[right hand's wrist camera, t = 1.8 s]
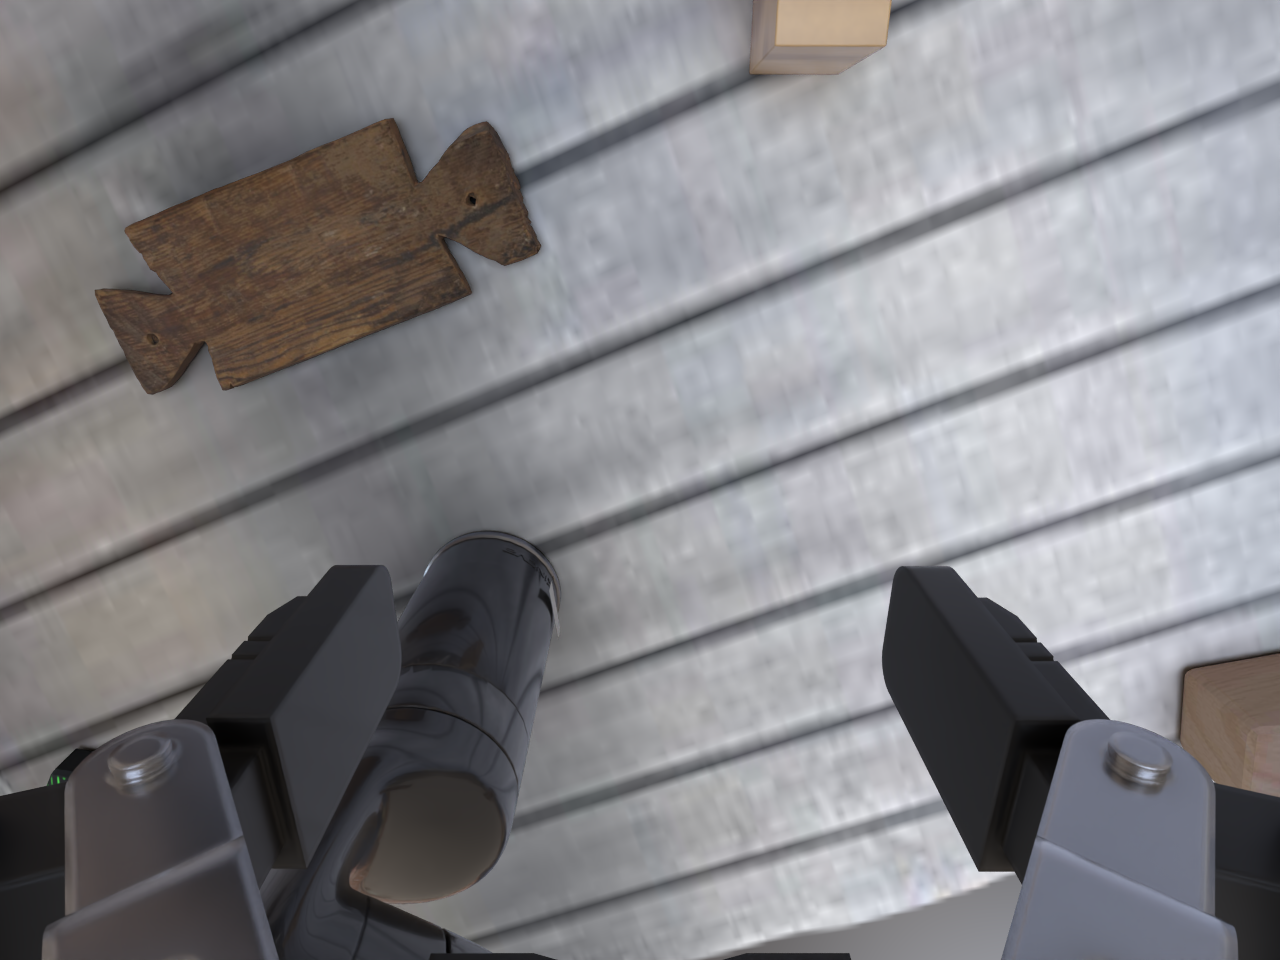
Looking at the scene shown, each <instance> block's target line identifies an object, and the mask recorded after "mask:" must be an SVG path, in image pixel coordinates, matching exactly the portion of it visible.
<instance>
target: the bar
mask: <svg viewBox="0 0 1280 960" xmlns="http://www.w3.org/2000/svg"><path fill="white" fill-rule="evenodd" d="M891 1H892V0H753V15H752V34H751V52H750V71H749V72H750V74H840V73H841V72H843V71H845V70H846V69H848V68H850V67H851V66H853V65H855V64H857V63H858V62H860V61H862V60H863V59H865V58H867V57H868V56H870V55H872V54H873V53H875V52H877V51H878V50H880V49H882V48H884V47H885V46H886V44H887V35H888V27H889V18H890V10H891Z"/></svg>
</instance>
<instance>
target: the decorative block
mask: <svg viewBox="0 0 1280 960" xmlns="http://www.w3.org/2000/svg"><path fill="white" fill-rule="evenodd" d="M1180 741H1181V744H1182V747H1183V748H1184V750H1185V751H1187V752H1188V753H1189V754H1190V755H1192V756H1193V757H1194V758H1195V759H1196V760H1197V761H1198V762H1199V763H1200V764H1201V765H1202V766H1203V767H1204V768H1205V769H1206V771H1207V772H1208V774H1209V775H1210V776H1211V778H1212V779H1213V780H1214V781H1215V783H1218V784H1222V785H1226V786H1231V787H1235V788H1240V789H1244V790H1249V791H1253V792H1258V793H1263V794H1267V795H1272V796H1276V797H1280V653H1279V654H1274V655H1268V656H1262V657H1257V658H1251V659H1245V660H1239V661H1234V662H1228V663H1222V664H1217V665H1211V666H1205V667H1200V668H1194V669H1191V670H1189V671H1187V673H1186V674H1185V679H1184V693H1183V707H1182V722H1181V736H1180Z"/></svg>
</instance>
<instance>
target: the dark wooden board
mask: <svg viewBox="0 0 1280 960" xmlns="http://www.w3.org/2000/svg"><path fill="white" fill-rule="evenodd" d="M520 188H521V187H520V184H519V181H518V178H517V177H516V175H515V174H514V170H513V168H512V166H511V162H510V158H509V154H508V153H507V151H506V150H505V148H504V146H503V144H502V142H501V140H500V138H499V136H498V134H497V132H496V131H495V129H494V128H493V127H492V126H491V125H490V124H489V123H488V122H487V121H486V122H482V123H478V124H475V125H473V126H471V127H469V128H467V129H466V130H465V131H464V132H463V133H462V134H461V135H460V136H459V137H458V138H457V139H456V140H455V141H454V143H453V144H452V145H451V146H450V147H449V148H448V149H447V150H446V151H445V153H444V154H443V156H442V157H441V159H440V161H439V162H438V163H437V164H436V165H435V166H434V167H433V168H432V169H431V171H430V172H429V173H428V175H427V176H426V178H425V179H424V180H423V182H420V183H418V181H417V178H416V176H415V173H414V170H413V167H412V163H411V160H410V158H409V155H408V153H407V150H406V148H405V145H404V143H403V140H402V138H401V135H400V132H399V130H398V127H397V124H396V122H395V120H394V118H391V119H384V120H382V121H379V122H377V123H374V124H372V125H370V126H368V127H365V128H363V129H361V130H359V131H356V132H354V133H352V134H350V135H347V136H345V137H343V138H340V139H338V140H335V141H332V142H330V143H327V144H324V145H322V146H319V147H317V148H314V149H312V150H310V151H307V152H305V153H303V154H301V155H300V156H298V157H296V158H294V159H292V160H289V161H287V162H284V163H282V164H279V165H277V166H274V167H272V168H269V169H267V170H264V171H262V172H259V173H257V174H254V175H251V176H249V177H246V178H243V179H240V180H238V181H235V182H233V183H230V184H228V185H225V186H223V187H219V188H216V189H213V190H211V191H209V192H206V193H204V194H202V195H200V196H197V197H195V198H192V199H190V200H188V201H186V202H183V203H181V204H178V205H175V206H173V207H170V208H168V209H166V210H164V211H162V212H160V213H157V214H155V215H153V216H150V217H148V218H146V219H144V220H141V221H138V222H136V223H133V224H131V225H130V226H128V227H126V228H125V233H126V235H127V236H128V237H129V239H130V241H131V243H132V244H133V246H134V247H135V248H136V249H137V250H138V251H139V253H142V255H143V258H144V260H145V261H146V262H147V264H148V266H149V268H150V270H152V271H154V272H156V273H157V275H158V276H159V278H160V279H161V280H162V281H163V282H164V283H165V284H166V285H167V286H168V287H169V289H170V290H171V291H172V293H171V294H170V295H163V294H152V293H147V292H140V291H133V290H120V289H100V290H95V296H96V298H97V300H98V303H99V305H100V307H101V309H102V311H103V313H104V315H105V317H106V319H107V321H108V323H109V325H110V327H111V329H112V330H113V331H114V333H115V336H116V338H117V339H118V342H119V344H120V346H121V347H122V349H123V350H124V353H125V356H126V358H127V360H128V362H129V364H130V366H131V367H132V369H133V371H134V373H135V375H136V377H137V379H138V380H139V382H140V383H141V385H142V387H143V389H144V390H145V391H146V393H147V394H156V393H158V392H161V391H163V390H165V389H167V388H170V387H172V386H173V385H174V384H175V383H176V381H177V380H178V379H179V378H180V377H181V376H182V374H183V373H184V372H185V370H186V368H187V366H188V365H189V363H190V362H191V361H192V360H193V358H194V357H195V356H196V354H197V352H198V351H199V349H200V348H201V347H202V345H203V344H204V342H206V343H207V345H208V351H209V353H210V355H211V358H212V361H213V365H214V369H215V373H216V376H217V379H218V381H219V383H220V385H221V388H222V390H229V389H232V388H234V387H238V386H241V385H244V384H246V383H248V382H251V381H253V380H256V379H259V378H261V377H264V376H266V375H269V374H272V373H274V372H277V371H279V370H282V369H285V368H287V367H290V366H292V365H295V364H298V363H300V362H303V361H305V360H308V359H311V358H313V357H316V356H318V355H320V354H323V353H325V352H328V351H330V350H333V349H335V348H338V347H340V346H343V345H345V344H348V343H350V342H353V341H355V340H358V339H360V338H363V337H365V336H368V335H370V334H373V333H375V332H378V331H381V330H383V329H386V328H388V327H391V326H393V325H396V324H399V323H401V322H404V321H406V320H409V319H411V318H414V317H416V316H419V315H422V314H424V313H427V312H430V311H432V310H435V309H437V308H440V307H442V306H444V305H447V304H450V303H452V302H454V301H456V300H459V299H461V298H463V297H466V296H468V295H470V294H472V291H471V289H470V287H469V284H468V282H467V280H466V278H465V276H464V275H463V272H462V271H461V270H460V268H459V266H458V264H457V262H456V260H455V259H454V257H453V256H452V254H451V253H450V251H449V249H448V247H447V245H446V243H445V241H444V239H443V238H444V237H447V238H449V239H452V240H454V241H456V242H459V243H461V244H462V245H464V246H465V247H467V248H469V249H471V250H472V251H474V252H476V253H478V254H480V255H482V256H484V257H486V258H488V259H491V260H495V261H497V262H498V263H500V264H501V265H504V266H506V265H509V264H512V263H515V262H518V261H521V260H523V259H526V258H528V257H530V256H533V255H535V254H537V253H538V251H539V249H540V247H541V245H540V243H539V241H538V240H537V236H536V234H535V232H534V230H533V228H532V227H531V225H530V223H531V221H530V220H529V219H528V211H527V209H526V208H525V205H524V204H523V196H522V194H521V192H520V190H519V189H520ZM470 197H474V198H475V199H476V204H473V203H472V202H471V201H470Z"/></svg>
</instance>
